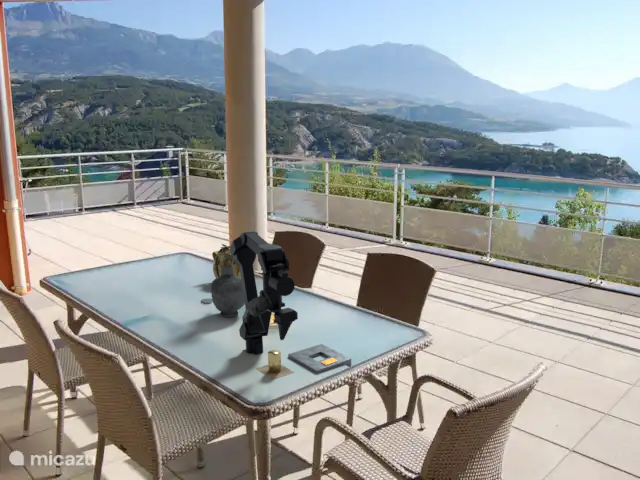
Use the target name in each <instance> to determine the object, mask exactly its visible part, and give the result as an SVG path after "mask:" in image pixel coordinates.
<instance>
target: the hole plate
mask: <svg viewBox="0 0 640 480" xmlns="http://www.w3.org/2000/svg"><path fill="white" fill-rule="evenodd" d="M287 354H288V355H287V357H288V359H290V360H293V361H294V362H296V363H297V364H299V365H301V366H303V367H305V368H307V369H308V370H310V371H311V372H313V373H315V374H316V375H317V374H319V373H323V372H325V371H329V370H331V369H335V368H337V367H340V366H342V365H345V366H347V367H348V366H351V365H352V358H350V357H349V356H346V355H345V354H342V353H341V352H339V351H336V350H335V349H333V348H331V347H328V346H326V345H325V344H322V343H321V344H317V345H314V346H309V347H307V348H304V349H300V350H297V351H294V352H291V353H287ZM318 356H323V357H324V359H321V360H318V361H317V360H316V359H314V358H316V357H318Z"/></svg>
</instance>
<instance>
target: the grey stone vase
mask: <svg viewBox="0 0 640 480" xmlns="http://www.w3.org/2000/svg"><path fill="white" fill-rule="evenodd" d="M230 246H231V245H226V244H224V243H221V246H220V249H219V250H217V251H218V254H217V255H216V256H215V268H216V271H217V275H218V277H217V278H216V277H215V278H214V279H213V281H212V282H211V285H210V287H211V288H210V289H211V291H210V293H211V299H212V303H213V306H214V307H215V308H216V310H218V311H219V312H220V316H221V317H223V318H234V317H236V316H238V315H239V312H238V310H241V308H242V307H245V306H244V305H245V301H244V294H243V288H242V282H241V279H240V278H239V277H238V276H236V275H234V274H233V256H232V255H231V252H230ZM218 258H220V267H221V276H220V275H219V269H218V268H219V267H218Z"/></svg>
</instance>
